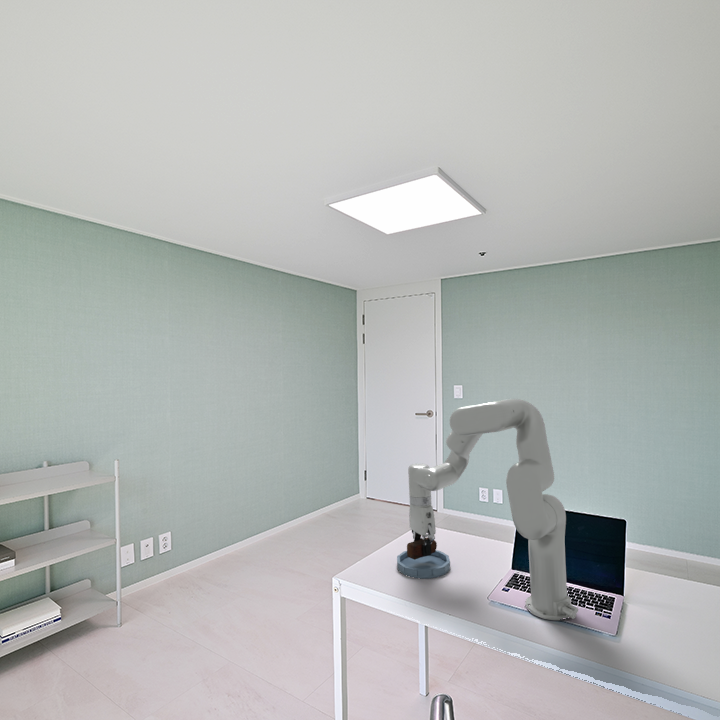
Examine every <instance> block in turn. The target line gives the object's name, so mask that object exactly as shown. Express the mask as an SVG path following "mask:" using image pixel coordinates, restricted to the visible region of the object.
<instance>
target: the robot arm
mask: <svg viewBox="0 0 720 720" xmlns="http://www.w3.org/2000/svg"><path fill="white" fill-rule="evenodd" d="M544 421H545V420H544V418H543V416H542V414H541V412H540V410H539V409H538V408H537V407H536V406H535V405H534V404H532V403H530V402H528V401H526V400H525V399H519V398H508V399H507V398H506V399H502V400H497V401H493V402H491V401H490V402H487V403H480V404H476V405H475V404H471V405H466V406H461V407H458V408H456V409H455V410H453V412H452V413H451V414H450V418H449V426H450V429H451V431H450V433H449V434H448V436H447V437H446V441H445V443H446V444H445V445H446V446H447V448H448V449H449V450H450V453H449V454H448V456H447V458H446V460H445V461H444V462H443V463H442V464H438V465H435V466H432V467H430V466H429V465H428V464H426V463H418V462H417V463H412V464H410V465H409V467H408V490H409V493H408V494H409V495H408V496H409V513H408V515H409V519H408V520H409V528H410V531H411V533H412V539H413V542H414V541H417V540H420V539H423V545H422V550H423V556H424V557H425V556H429V555H431V544H432V541H433V540H435V539H436V536H435V535H436V533H437V532H436V531H437V528H436V518H435V514H434V513H435V512H434V508H433V505H432V492H437V491H440V490H443V489H444V488H447V487H450V486H452V485H454V484H455V483H457V482H458V481H459V479H460V477H462V475H463V473H464V472H465V471H466V469H467V467H468V465H469V462H470V461H469V460H470V454H471V452H472V451H473V450H474V447H475V446H476V444H477V443H478V442H479V440H480V439H481V437H482V435H483V434H489V433H491V434H492V433H497V432H498V433H499V432H503V431H506V430H510V429H513V428H514V429H515V430H516V438H515V439H516V440H515V441H516V443H515V444H516V451H517V454H518V462H516V463H513V465H512V466H511V467H509V468H508V470H507V474H506V480H505V481H506V484H505V485H506V490H507V497H508V502H509V509H510V512H511V518H512V522H513V525H514V527H515V529H516V530H517V531H516V532H518V533H519V534H520V535H521V536H522V537H523V538H524V539H527V540H528V546H527V547H528V560H529V561H528V562H529V563H528V564H529V584H530V596H528V597H527V598H526V599H525V607H526V606H527V608H528V609H529V610H530V611H531V612H530V614H531V615H534V616H536V617H538V618H540V619H543V620H544V619H545V620H548V621H561V620H560V619H563V618H568V617H570V618H571V619H573V620H574V619H576V617H577V614H578V613H579V608H578V607H576V606H575V605H573V604H572V601H571V597H570V596H569V595H568V589H567V588H568V587H567V566H566V545H565V536H566V525H567V514H566V510H565V507H564V504H563V503H562V501H560V499H559V498H558V497H556V496H554V495H552V494H549V493H543V492H544V491H546V490H548V489H549V488H550V487H552V486H553V484H554V481H555V472H554V467H553V462H552V458H551V453H550V447H549V442H548V437H547V431H546V425H545V422H544ZM427 537H428V538H427ZM426 538H427V539H426ZM529 605H530V606H529ZM527 608H526V609H527ZM568 619H569V618H568Z"/></svg>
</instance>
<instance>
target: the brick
mask: <svg viewBox="0 0 720 720" xmlns="http://www.w3.org/2000/svg"><path fill="white" fill-rule="evenodd" d="M425 538H426V539H427V538H428V537H425ZM437 543H438V542H437V541H436V540H435V539H434V540H433V541H432V544H431V554H432V553H435V552H436V550H437V547H438V544H437ZM422 545H423V539H420V540H417V541H414V540H413V541H410V542H409V543H407V544H406V551H407V556H408V557H410V558H412V559H414V560H415V559H418V558H421V557H424V556H423V550H422Z"/></svg>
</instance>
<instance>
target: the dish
mask: <svg viewBox="0 0 720 720" xmlns="http://www.w3.org/2000/svg"><path fill="white" fill-rule="evenodd" d="M396 565H397V566H396V567H397V570H398V572H399V571H400V572H399V573H401V574H402V573H403V574H402V575H404V576H406V575H407V576H406V577H408V576H410V577H409V578H412V577H414V578H413V579H418V578H420V580H422V579H423V580H429V579H431V580H432V579H436V578H440V577H443V576H445V575H447V574H448V573H449V572H450V570H451V569H450V568H451V560H450V556H449V555H448V554H447V553H445V552H443V551H442V550H437V549H436V552H435V553H432V554H431V555H429V556H425V557H421V558H418V559H415V560H414V559H412V558H410V557H408V556H407V550H405V551H402V552H401V553H400V554H398V555H397V556H396Z"/></svg>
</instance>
